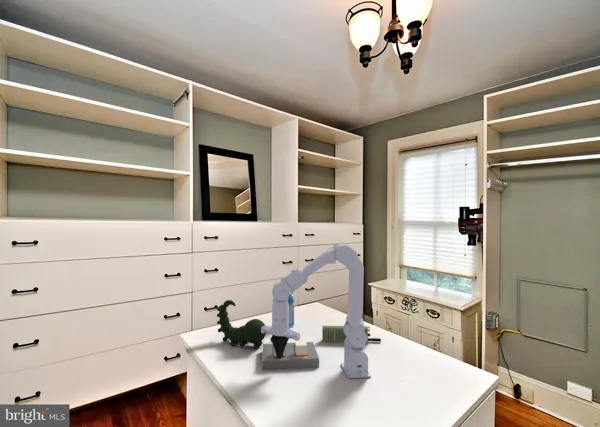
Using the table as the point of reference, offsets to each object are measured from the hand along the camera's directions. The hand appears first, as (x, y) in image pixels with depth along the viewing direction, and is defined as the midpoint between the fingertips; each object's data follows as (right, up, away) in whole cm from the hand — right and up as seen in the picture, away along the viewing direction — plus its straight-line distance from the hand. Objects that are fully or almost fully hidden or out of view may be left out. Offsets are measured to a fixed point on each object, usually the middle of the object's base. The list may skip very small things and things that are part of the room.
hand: (279, 357), depth 97 cm
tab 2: (+7, -2, +6) cm, 10 cm away
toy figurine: (-17, -6, +21) cm, 27 cm away
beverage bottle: (0, -6, +43) cm, 43 cm away
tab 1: (-1, -2, +5) cm, 6 cm away
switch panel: (+3, -5, +9) cm, 11 cm away
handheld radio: (+29, -6, +25) cm, 39 cm away
